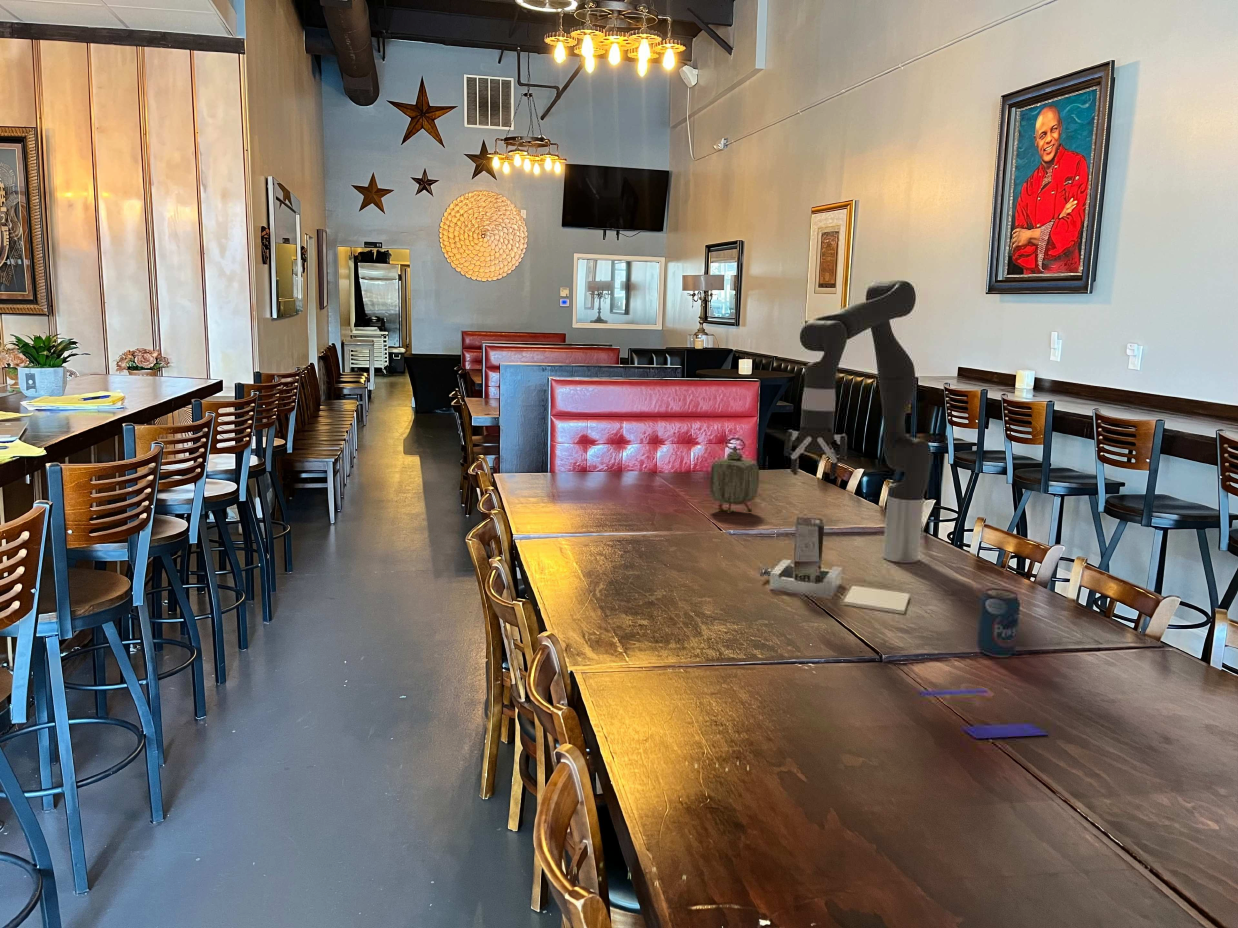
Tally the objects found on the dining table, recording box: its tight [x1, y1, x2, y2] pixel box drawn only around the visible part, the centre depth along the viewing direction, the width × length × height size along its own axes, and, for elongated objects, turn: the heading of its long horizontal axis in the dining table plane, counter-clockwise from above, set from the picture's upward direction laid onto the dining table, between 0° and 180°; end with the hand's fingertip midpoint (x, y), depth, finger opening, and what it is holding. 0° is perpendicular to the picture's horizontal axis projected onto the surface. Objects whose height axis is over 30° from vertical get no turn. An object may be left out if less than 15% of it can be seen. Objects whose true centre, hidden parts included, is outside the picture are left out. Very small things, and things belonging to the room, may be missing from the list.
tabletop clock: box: [709, 437, 760, 513], centre depth 282 cm, size 14×9×25 cm, turn 58°
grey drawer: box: [759, 559, 843, 599], centre depth 206 cm, size 13×18×4 cm
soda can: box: [976, 587, 1021, 658], centre depth 166 cm, size 7×7×12 cm
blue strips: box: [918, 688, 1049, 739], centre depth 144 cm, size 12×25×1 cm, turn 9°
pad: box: [843, 585, 911, 615], centre depth 196 cm, size 13×13×1 cm
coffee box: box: [792, 516, 825, 583], centre depth 204 cm, size 9×6×16 cm
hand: (813, 476), depth 201 cm, fingers open, 8 cm apart
